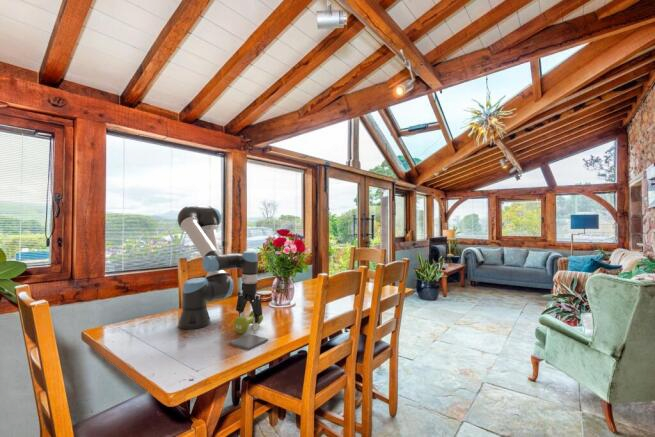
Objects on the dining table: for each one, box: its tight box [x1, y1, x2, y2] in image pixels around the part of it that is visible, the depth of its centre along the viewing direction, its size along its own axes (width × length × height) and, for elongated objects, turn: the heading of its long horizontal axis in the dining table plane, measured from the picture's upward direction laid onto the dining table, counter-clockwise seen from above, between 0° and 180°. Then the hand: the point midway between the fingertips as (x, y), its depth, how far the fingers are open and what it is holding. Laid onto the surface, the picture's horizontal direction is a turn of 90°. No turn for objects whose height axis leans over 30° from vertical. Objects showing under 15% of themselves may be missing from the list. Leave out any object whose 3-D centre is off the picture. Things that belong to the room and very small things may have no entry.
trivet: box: [228, 333, 269, 351], centre depth 141 cm, size 12×12×1 cm
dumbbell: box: [232, 310, 264, 334], centre depth 158 cm, size 16×8×7 cm, turn 158°
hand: (248, 327), depth 158 cm, fingers closed on dumbbell, 8 cm apart
